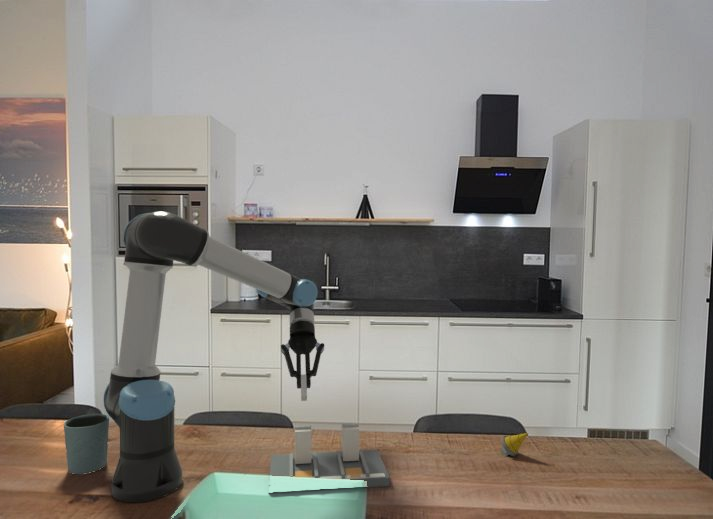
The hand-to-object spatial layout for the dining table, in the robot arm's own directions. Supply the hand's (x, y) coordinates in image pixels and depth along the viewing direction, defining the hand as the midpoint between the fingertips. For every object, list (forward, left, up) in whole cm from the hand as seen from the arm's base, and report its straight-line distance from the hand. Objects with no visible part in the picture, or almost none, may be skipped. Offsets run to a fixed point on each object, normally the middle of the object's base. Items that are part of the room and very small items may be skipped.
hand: (304, 398), depth 129 cm
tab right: (+11, -9, -13) cm, 19 cm away
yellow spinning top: (+56, -7, -15) cm, 59 cm away
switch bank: (+5, -12, -15) cm, 20 cm away
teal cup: (-55, -1, -15) cm, 57 cm away
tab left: (-1, -9, -13) cm, 16 cm away
